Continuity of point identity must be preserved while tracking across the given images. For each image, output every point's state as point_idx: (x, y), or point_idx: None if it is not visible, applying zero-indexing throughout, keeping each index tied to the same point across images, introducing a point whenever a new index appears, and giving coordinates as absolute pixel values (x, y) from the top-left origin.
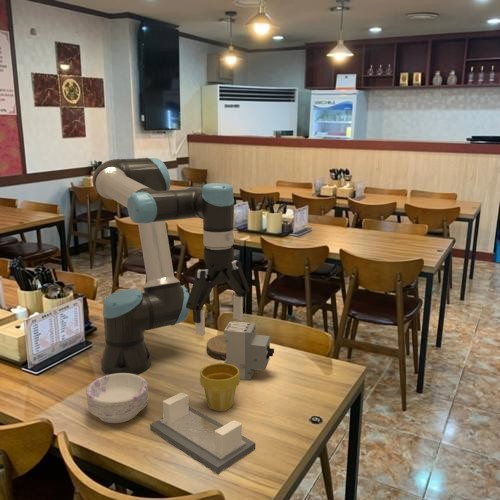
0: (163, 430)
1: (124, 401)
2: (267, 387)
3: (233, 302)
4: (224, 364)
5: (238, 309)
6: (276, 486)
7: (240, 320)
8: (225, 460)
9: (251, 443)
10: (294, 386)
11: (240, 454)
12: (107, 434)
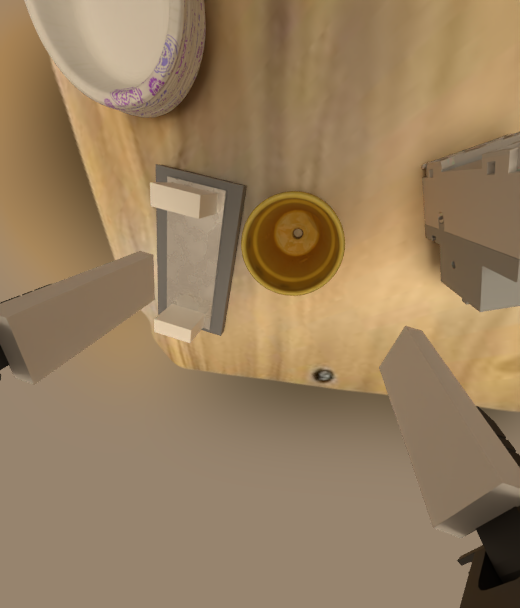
0: None
1: (85, 94)
2: (401, 284)
3: (454, 409)
4: (338, 235)
5: (407, 405)
6: (187, 366)
7: (381, 367)
8: None
9: (216, 332)
10: (423, 327)
11: None
12: None
